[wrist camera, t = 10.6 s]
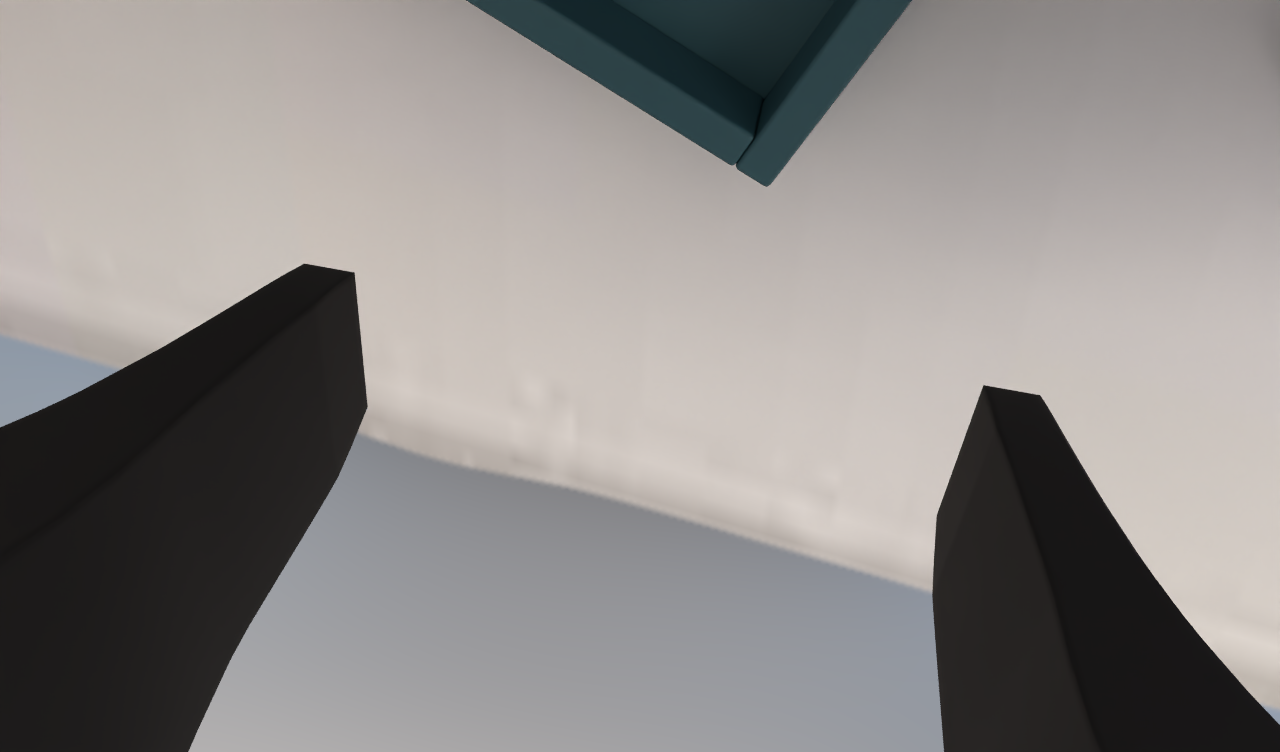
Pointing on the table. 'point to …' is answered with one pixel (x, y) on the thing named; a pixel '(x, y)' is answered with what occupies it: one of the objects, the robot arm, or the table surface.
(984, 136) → the table surface
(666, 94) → the tray
